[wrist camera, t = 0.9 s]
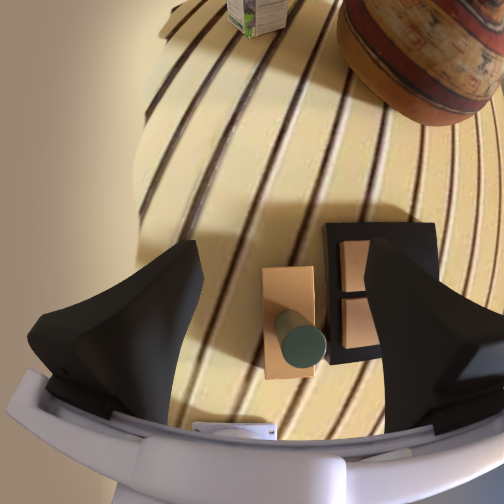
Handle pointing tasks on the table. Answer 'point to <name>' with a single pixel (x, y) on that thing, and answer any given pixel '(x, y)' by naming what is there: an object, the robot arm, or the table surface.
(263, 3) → the syrup box
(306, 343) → the brush
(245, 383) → the table surface
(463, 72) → the ceramic pitcher
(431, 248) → the enamel panel
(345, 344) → the chip
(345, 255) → the chip
